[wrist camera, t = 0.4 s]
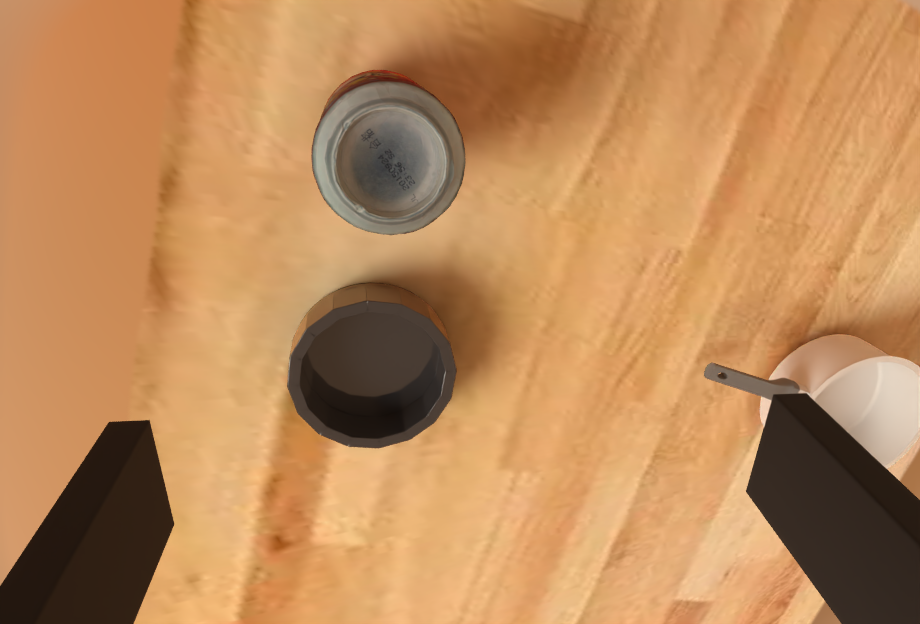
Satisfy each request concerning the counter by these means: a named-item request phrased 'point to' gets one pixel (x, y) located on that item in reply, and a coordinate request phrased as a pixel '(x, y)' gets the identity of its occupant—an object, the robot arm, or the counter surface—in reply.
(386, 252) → the counter surface
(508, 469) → the counter surface
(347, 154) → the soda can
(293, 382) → the holder
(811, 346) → the saucepan
